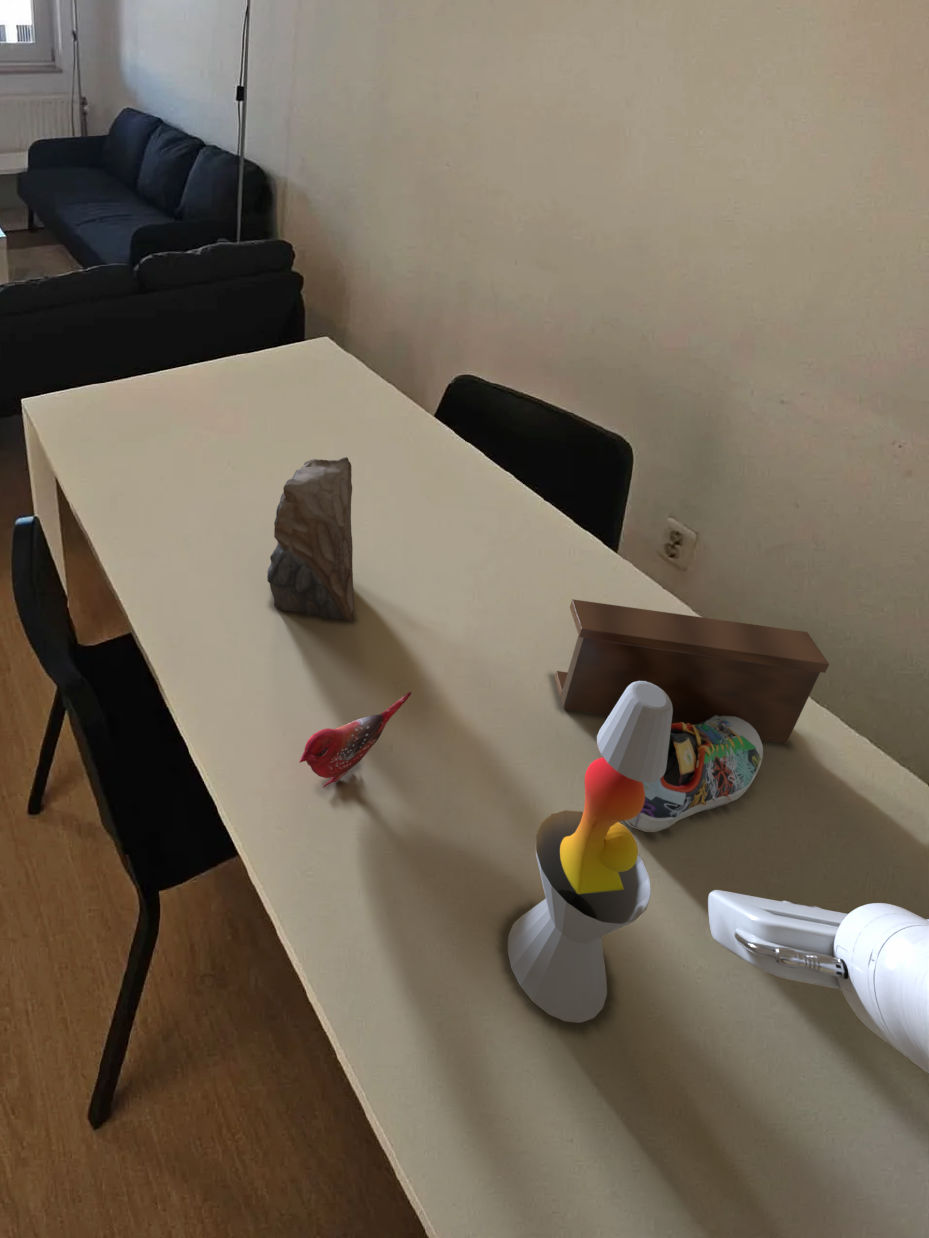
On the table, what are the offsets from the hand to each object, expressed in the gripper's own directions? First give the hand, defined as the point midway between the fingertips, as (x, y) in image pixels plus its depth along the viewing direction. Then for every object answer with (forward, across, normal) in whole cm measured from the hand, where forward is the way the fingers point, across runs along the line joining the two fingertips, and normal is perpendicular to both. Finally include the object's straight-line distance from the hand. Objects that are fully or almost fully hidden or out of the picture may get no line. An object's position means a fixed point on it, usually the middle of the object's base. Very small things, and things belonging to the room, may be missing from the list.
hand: (799, 914), depth 68 cm
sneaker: (+18, -1, +7) cm, 20 cm away
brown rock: (+33, -45, +21) cm, 60 cm away
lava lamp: (+3, -20, -8) cm, 22 cm away
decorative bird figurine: (+15, -39, +3) cm, 42 cm away
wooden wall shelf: (+25, 0, +14) cm, 29 cm away
